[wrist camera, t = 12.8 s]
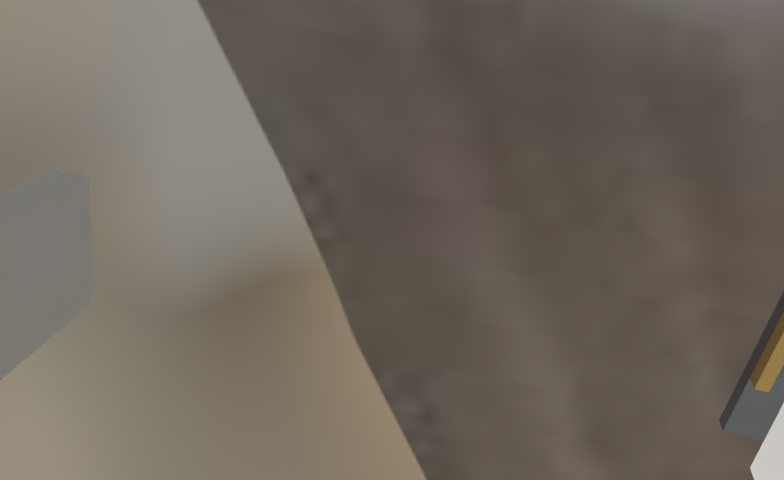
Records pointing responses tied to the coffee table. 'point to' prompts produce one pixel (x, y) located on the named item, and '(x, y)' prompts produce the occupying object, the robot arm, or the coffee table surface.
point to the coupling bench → (759, 385)
